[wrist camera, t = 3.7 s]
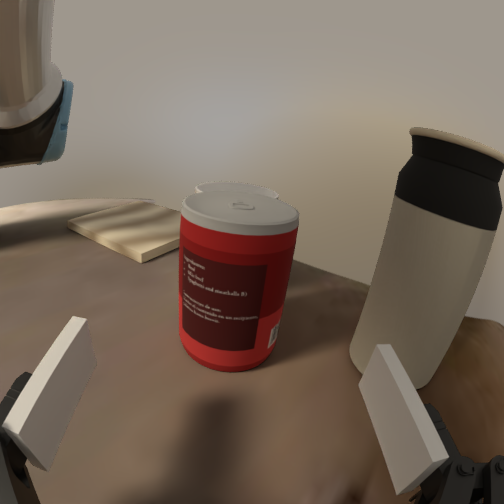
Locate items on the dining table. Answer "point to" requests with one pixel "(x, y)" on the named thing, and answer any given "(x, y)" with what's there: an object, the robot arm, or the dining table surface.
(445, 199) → the travel mug
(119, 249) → the cutting board
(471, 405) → the dining table surface
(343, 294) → the dining table surface
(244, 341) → the canned food
